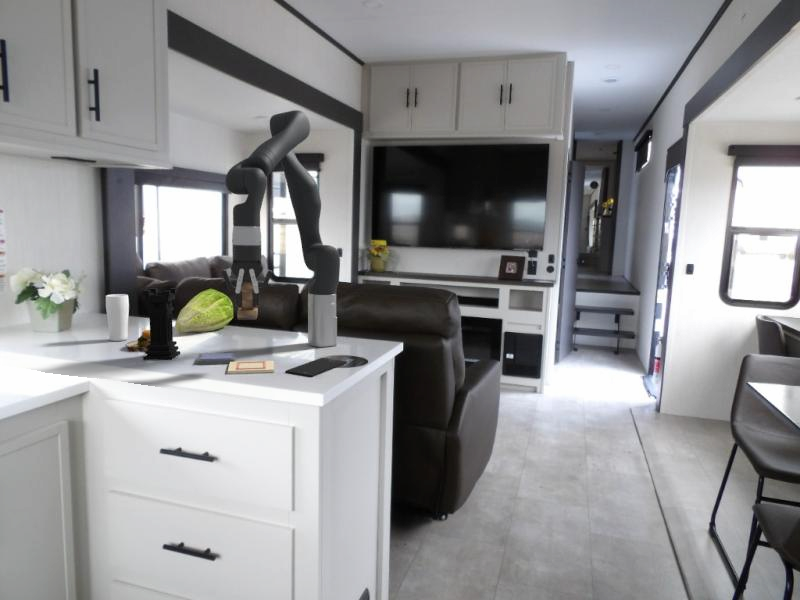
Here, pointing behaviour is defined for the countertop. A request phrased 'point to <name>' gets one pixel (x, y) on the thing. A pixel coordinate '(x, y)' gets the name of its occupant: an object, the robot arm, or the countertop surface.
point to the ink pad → (216, 358)
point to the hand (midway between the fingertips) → (247, 306)
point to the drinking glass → (117, 316)
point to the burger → (140, 342)
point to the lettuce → (205, 312)
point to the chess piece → (160, 325)
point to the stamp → (247, 302)
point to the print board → (251, 367)
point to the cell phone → (316, 367)
